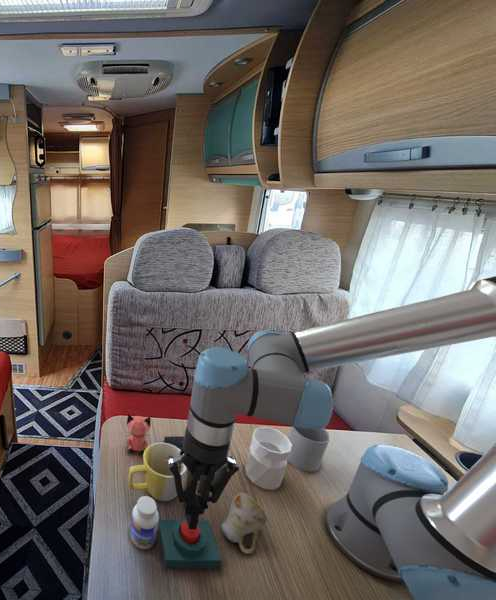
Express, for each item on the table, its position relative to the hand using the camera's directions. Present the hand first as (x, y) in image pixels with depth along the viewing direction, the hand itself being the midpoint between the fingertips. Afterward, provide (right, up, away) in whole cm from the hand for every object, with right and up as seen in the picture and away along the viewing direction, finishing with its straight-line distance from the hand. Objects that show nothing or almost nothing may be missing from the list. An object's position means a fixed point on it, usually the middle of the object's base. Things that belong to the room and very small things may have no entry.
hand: (190, 522), depth 66 cm
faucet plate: (+7, +2, +25) cm, 26 cm away
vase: (+24, -1, +19) cm, 31 cm away
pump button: (0, -3, +1) cm, 4 cm away
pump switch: (0, -7, +3) cm, 7 cm away
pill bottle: (-9, -6, +4) cm, 12 cm away
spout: (+7, +4, +24) cm, 25 cm away
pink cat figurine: (-8, +3, +27) cm, 28 cm away
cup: (+38, +1, +24) cm, 45 cm away
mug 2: (+13, -6, +6) cm, 15 cm away
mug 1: (-5, -2, +15) cm, 16 cm away
